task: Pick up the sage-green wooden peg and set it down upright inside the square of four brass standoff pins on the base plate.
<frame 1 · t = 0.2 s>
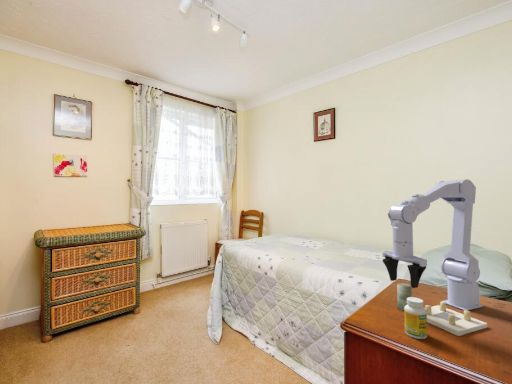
hand: (403, 283, 84), 10 cm above the chest of drawers, tool pointing down, fingers open, 7 cm apart
peg: (404, 309, 89), on the chest of drawers
supplement bottle: (415, 335, 72), on the chest of drawers
base plate: (447, 320, 80), on the chest of drawers
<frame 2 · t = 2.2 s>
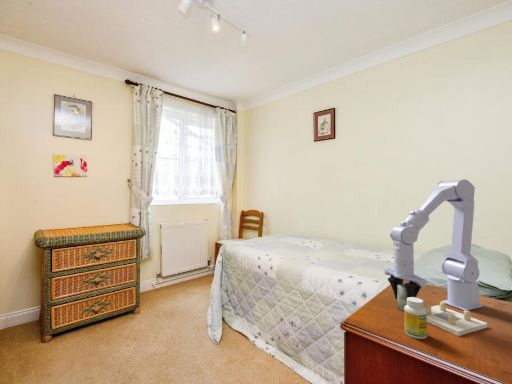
hand: (404, 301, 89), 3 cm above the chest of drawers, tool pointing down, fingers closed on peg, 4 cm apart
peg: (404, 309, 89), on the chest of drawers, touching gripper
everything else where it was.
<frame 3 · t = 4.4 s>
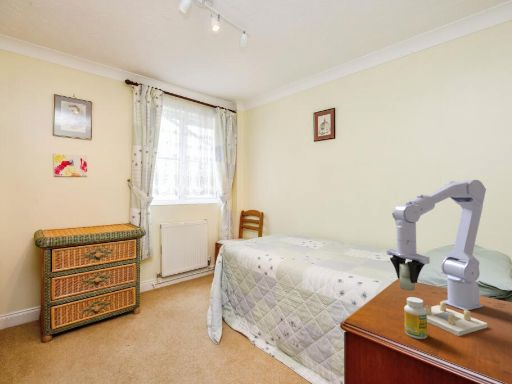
hand: (407, 280, 88), 10 cm above the chest of drawers, tool pointing down, fingers closed on peg, 4 cm apart
peg: (407, 288, 88), point 7 cm above the chest of drawers, touching gripper
everything else where it was.
when the fingers open (5 cm above the chest of drawers, at t = 6.8 s): peg stays where it is, resting on base plate.
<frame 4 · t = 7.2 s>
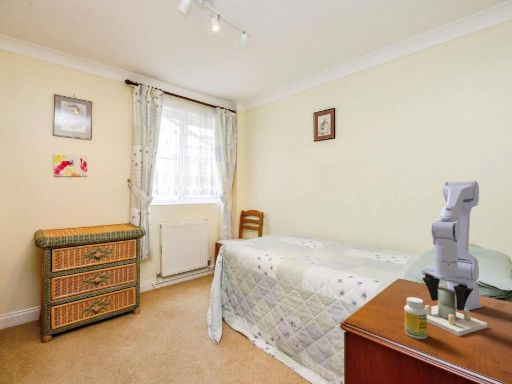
hand: (447, 304, 80), 5 cm above the chest of drawers, tool pointing down, fingers open, 7 cm apart
peg: (447, 316, 80), point 1 cm above the chest of drawers, touching base plate
everything else where it was.
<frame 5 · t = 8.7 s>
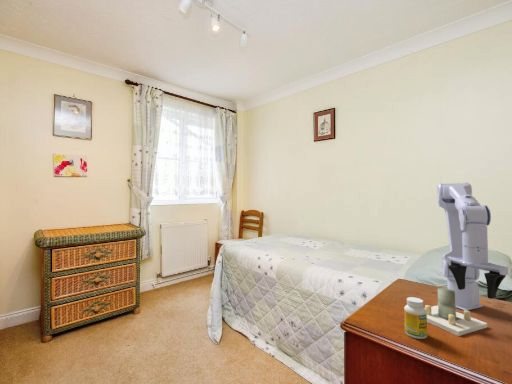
hand: (475, 293, 76), 10 cm above the chest of drawers, tool pointing down, fingers open, 7 cm apart
nothing on the chest of drawers moved.
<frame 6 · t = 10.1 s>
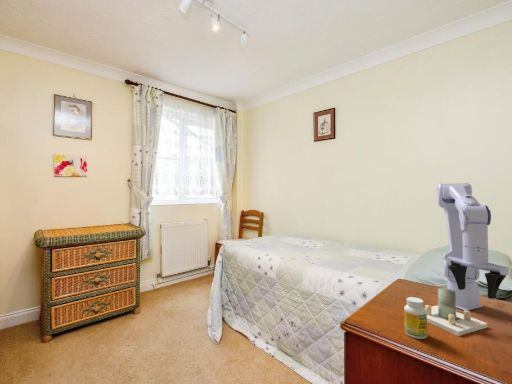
hand: (476, 293, 76), 10 cm above the chest of drawers, tool pointing down, fingers open, 7 cm apart
nothing on the chest of drawers moved.
at the end: peg 0.1 cm off-centre on the base plate, point 1.3 cm above the base plate's base; peg tilted 1°; the gripper is holding nothing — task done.
